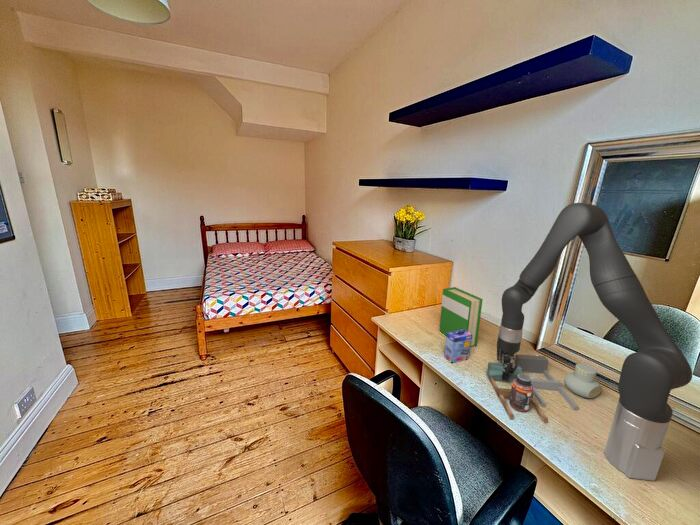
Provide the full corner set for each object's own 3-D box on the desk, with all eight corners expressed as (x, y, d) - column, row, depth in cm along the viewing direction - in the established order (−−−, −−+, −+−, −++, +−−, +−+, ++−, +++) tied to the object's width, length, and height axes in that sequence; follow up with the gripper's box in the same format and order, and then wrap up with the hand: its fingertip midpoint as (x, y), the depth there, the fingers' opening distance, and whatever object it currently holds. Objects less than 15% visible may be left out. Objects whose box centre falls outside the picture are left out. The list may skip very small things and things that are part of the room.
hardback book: (476, 346, 133) (482, 299, 127) (464, 349, 130) (469, 301, 124) (450, 330, 148) (454, 287, 143) (439, 332, 146) (443, 288, 140)
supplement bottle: (532, 414, 92) (538, 384, 89) (512, 411, 93) (517, 381, 91) (525, 401, 98) (530, 373, 95) (506, 398, 99) (511, 370, 96)
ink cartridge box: (451, 364, 119) (455, 333, 116) (443, 357, 124) (446, 327, 121) (470, 359, 122) (473, 329, 119) (461, 352, 127) (464, 323, 124)
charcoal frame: (577, 409, 94) (580, 394, 93) (541, 406, 95) (544, 391, 94) (541, 368, 116) (543, 355, 115) (513, 366, 118) (515, 353, 116)
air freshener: (577, 381, 108) (583, 358, 106) (602, 395, 101) (609, 371, 99) (558, 388, 105) (563, 364, 102) (583, 403, 97) (589, 378, 95)
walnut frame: (547, 422, 89) (550, 406, 87) (510, 419, 90) (512, 403, 89) (515, 376, 111) (517, 363, 109) (486, 374, 112) (488, 361, 111)
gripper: (529, 347, 98) (521, 390, 102) (512, 328, 111) (505, 366, 116) (506, 346, 99) (499, 388, 103) (492, 327, 112) (486, 365, 117)
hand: (503, 376), depth 109 cm, fingers closed on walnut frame, 3 cm apart
